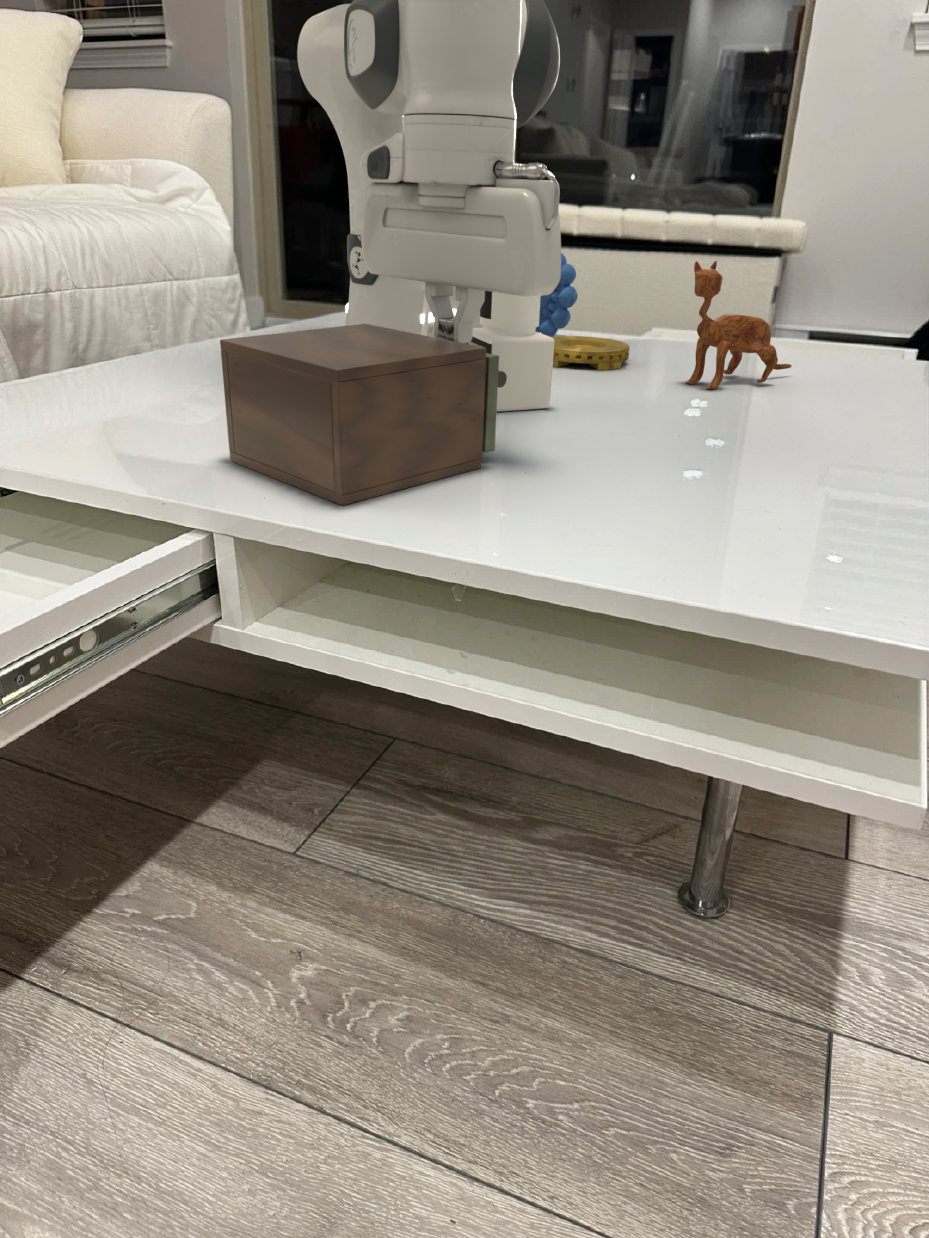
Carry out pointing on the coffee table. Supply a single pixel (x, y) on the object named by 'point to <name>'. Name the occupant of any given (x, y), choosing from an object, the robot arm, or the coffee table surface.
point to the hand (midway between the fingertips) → (453, 341)
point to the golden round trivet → (589, 351)
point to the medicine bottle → (517, 349)
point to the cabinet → (354, 408)
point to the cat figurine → (729, 333)
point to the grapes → (558, 302)
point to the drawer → (491, 400)
